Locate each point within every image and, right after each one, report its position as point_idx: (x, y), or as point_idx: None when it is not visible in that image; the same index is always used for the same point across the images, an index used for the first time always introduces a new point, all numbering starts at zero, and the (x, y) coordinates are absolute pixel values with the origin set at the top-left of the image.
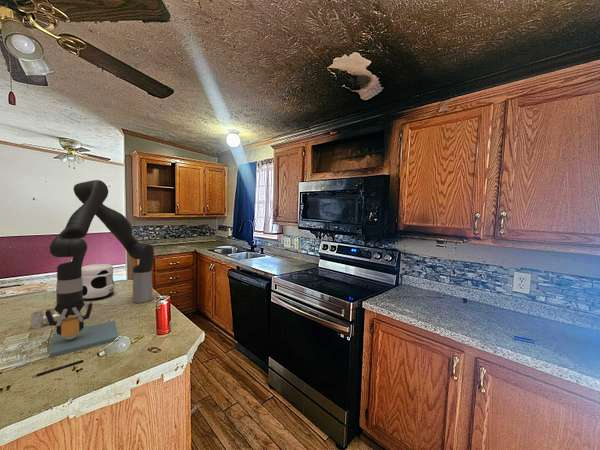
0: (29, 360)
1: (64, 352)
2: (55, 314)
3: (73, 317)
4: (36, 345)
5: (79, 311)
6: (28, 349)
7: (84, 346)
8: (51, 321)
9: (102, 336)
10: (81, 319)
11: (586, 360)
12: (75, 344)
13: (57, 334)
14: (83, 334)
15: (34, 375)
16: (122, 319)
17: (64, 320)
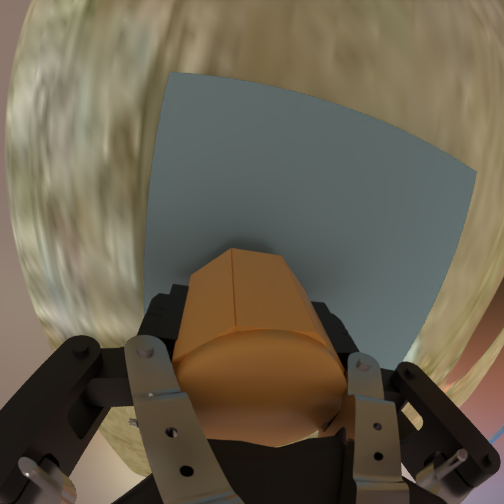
0: (86, 320)
1: None
2: None
3: (298, 394)
4: (88, 152)
5: (382, 434)
6: (61, 185)
7: None
8: (87, 425)
9: (366, 344)
10: (338, 412)
11: None
12: None
13: (184, 109)
14: (320, 251)
15: (133, 425)
16: (490, 143)
17: (200, 419)
